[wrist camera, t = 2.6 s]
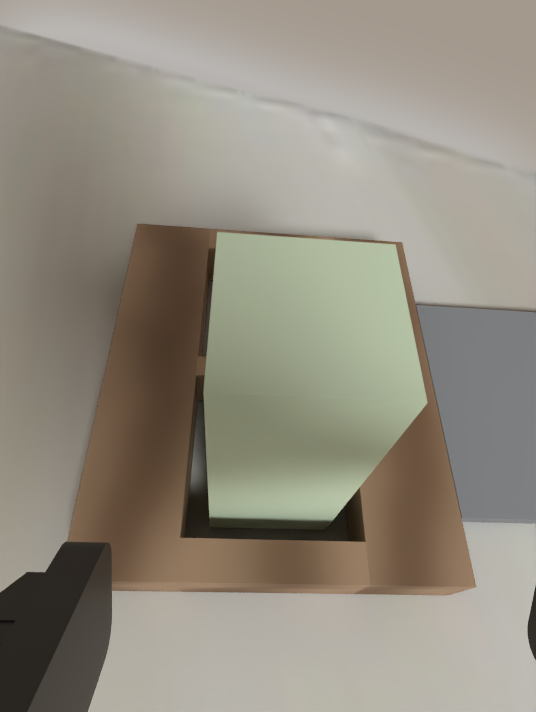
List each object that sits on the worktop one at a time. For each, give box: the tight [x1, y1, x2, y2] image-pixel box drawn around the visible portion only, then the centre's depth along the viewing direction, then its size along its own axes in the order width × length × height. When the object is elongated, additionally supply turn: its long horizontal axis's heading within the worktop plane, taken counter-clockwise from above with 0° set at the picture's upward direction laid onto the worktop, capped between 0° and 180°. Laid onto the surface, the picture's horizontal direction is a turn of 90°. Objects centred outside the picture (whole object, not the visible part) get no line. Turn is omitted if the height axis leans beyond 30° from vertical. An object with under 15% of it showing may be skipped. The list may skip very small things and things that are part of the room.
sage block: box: [203, 232, 428, 530], centre depth 17 cm, size 5×5×12 cm
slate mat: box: [416, 305, 536, 523], centre depth 25 cm, size 9×12×1 cm
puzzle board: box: [67, 224, 476, 595], centre depth 23 cm, size 15×18×2 cm
